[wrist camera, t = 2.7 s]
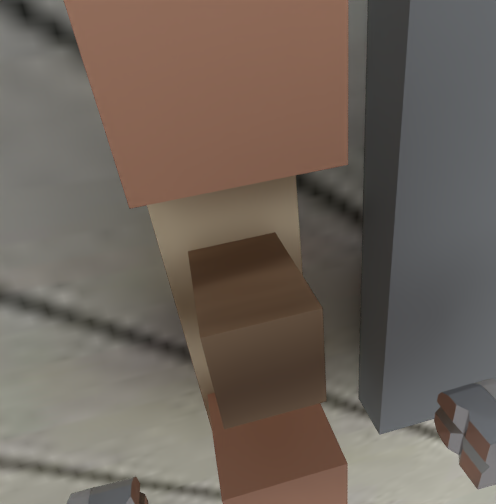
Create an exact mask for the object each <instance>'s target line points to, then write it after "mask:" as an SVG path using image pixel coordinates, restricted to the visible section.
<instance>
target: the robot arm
mask: <svg viewBox="0 0 496 504" xmlns="http://www.w3.org/2000/svg"><path fill="white" fill-rule="evenodd" d="M437 402H438V404H439V405H440V408H439V409H438V410H437V411H436V412H435V419H434V422H435V426H436V429H437V432H438V434H439V436H440V438H441V440H442V441H443V443H444V444H445V445H446V447H447V448H448V449H449V450H451V451H453V452H455V453H457V454H458V455H459V465H460V466H461V468H462V469H463V470H464V472H465V473H466V474H467V476H468V477H469V478H470V480H471V481H472V483H473V484H474V485H475V487H476V488H477V489H481V488H484V487H488V486H492V485H495V484H496V380H495V379H486V380H483V381H480V382H476V383H471V384H467V385H464V386H461V387H457V388H454V389H451V390H447V391H444V392H441V393H440V394H439V395H438V399H437ZM67 504H148V500H147V498H146V496H145V494H143V493H141V492H140V483H139V481H138V479H137V477H132V478H128V479H124V480H121V481H117V482H113V483H110V484H106V485H102V486H98V487H93V488H90V489H86V490H82V491H79V492H75V493H72V494H71V495H70V497H69V500H68V502H67Z"/></svg>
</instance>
